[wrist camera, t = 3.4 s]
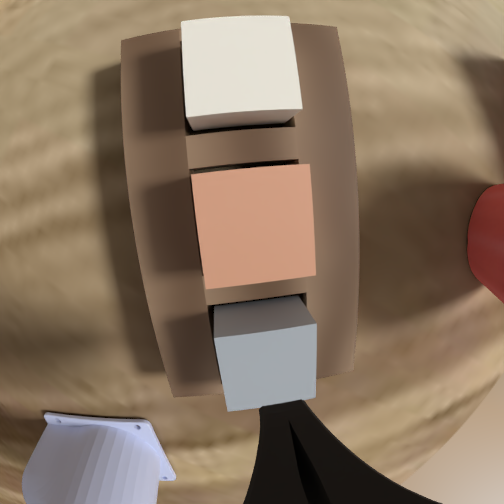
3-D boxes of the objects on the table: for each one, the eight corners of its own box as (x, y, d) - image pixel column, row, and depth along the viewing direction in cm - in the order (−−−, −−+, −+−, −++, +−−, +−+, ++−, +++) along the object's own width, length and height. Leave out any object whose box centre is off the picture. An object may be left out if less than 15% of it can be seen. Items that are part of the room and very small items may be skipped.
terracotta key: (208, 265, 13) (205, 289, 11) (197, 175, 12) (190, 174, 10) (295, 254, 14) (316, 275, 11) (289, 166, 13) (309, 163, 10)
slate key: (225, 373, 15) (227, 411, 12) (214, 306, 14) (213, 338, 11) (299, 362, 15) (315, 397, 12) (297, 295, 14) (316, 323, 11)
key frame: (177, 371, 17) (173, 397, 14) (134, 58, 12) (121, 40, 10) (338, 348, 18) (353, 370, 15) (320, 45, 13) (336, 27, 11)
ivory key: (193, 130, 12) (186, 117, 9) (187, 51, 11) (181, 21, 8) (284, 123, 12) (302, 108, 10) (274, 45, 11) (289, 16, 9)
